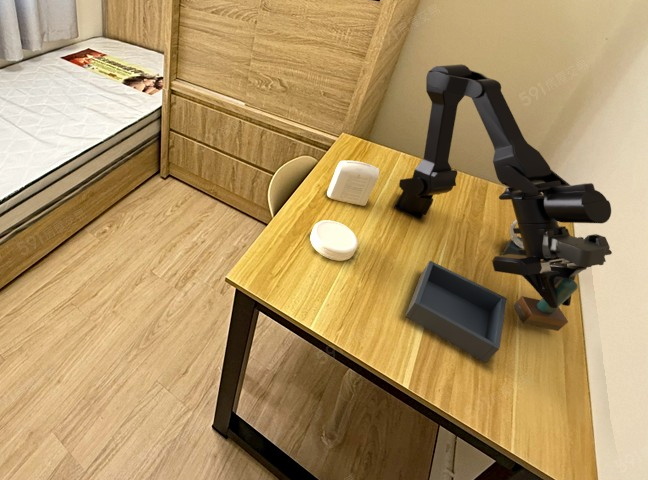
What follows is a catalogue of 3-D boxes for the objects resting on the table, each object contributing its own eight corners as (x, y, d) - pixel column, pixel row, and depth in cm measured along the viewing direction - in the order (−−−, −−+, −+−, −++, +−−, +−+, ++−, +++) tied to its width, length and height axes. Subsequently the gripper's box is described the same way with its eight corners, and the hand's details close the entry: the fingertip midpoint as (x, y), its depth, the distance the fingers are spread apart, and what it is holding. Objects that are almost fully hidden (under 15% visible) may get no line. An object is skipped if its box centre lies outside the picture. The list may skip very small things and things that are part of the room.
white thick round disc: (305, 227, 101) (308, 217, 99) (345, 230, 101) (350, 220, 99) (315, 259, 93) (319, 249, 91) (359, 263, 92) (364, 253, 90)
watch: (535, 271, 91) (564, 239, 85) (493, 250, 96) (517, 218, 90) (539, 258, 95) (568, 226, 88) (498, 238, 99) (522, 206, 93)
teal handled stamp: (522, 323, 79) (559, 286, 72) (512, 305, 82) (547, 268, 75) (558, 331, 77) (599, 294, 71) (546, 312, 81) (584, 275, 74)
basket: (404, 317, 81) (414, 302, 78) (420, 275, 90) (429, 260, 87) (484, 364, 74) (499, 349, 71) (493, 313, 83) (507, 298, 80)
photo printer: (365, 197, 111) (381, 162, 104) (367, 208, 107) (383, 172, 100) (326, 189, 113) (338, 154, 106) (326, 199, 110) (340, 164, 103)
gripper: (543, 230, 68) (569, 327, 66) (629, 216, 71) (658, 309, 69) (480, 227, 79) (501, 310, 77) (557, 216, 82) (580, 295, 80)
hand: (560, 306), depth 75 cm, fingers closed on teal handled stamp, 2 cm apart
